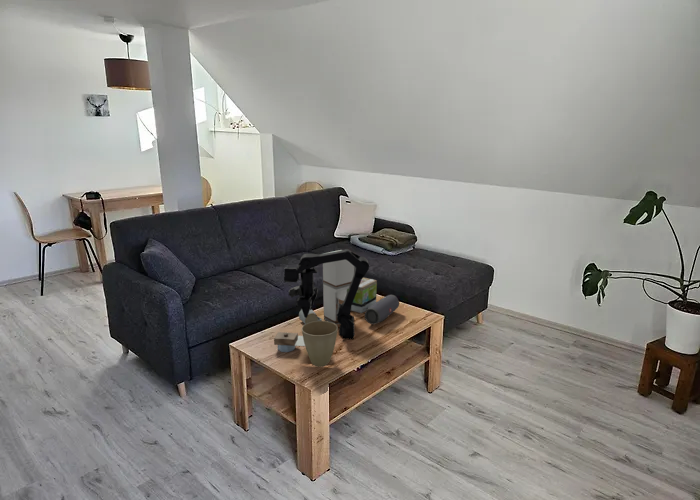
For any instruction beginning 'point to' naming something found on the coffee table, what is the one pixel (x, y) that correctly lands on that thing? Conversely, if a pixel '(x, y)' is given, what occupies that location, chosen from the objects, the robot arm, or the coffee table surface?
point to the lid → (286, 338)
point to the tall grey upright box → (335, 286)
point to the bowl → (285, 348)
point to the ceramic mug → (309, 317)
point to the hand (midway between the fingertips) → (308, 313)
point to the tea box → (365, 295)
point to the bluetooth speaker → (381, 309)
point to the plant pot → (319, 341)
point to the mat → (300, 341)
